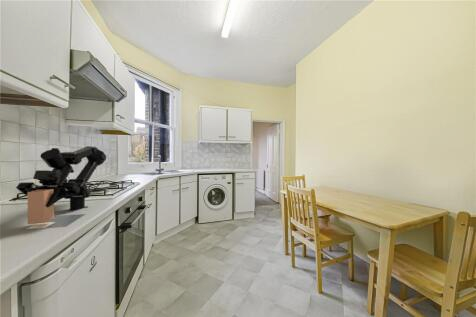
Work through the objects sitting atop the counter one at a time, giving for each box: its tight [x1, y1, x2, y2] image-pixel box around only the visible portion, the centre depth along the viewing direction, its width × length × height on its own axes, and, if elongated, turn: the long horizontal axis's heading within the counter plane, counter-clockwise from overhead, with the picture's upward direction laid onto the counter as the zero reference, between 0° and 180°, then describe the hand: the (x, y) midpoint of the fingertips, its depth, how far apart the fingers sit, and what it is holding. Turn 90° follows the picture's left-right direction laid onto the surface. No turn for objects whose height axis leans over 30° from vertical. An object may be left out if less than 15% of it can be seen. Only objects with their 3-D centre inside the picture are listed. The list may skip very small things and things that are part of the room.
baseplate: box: [24, 213, 86, 231], centre depth 75 cm, size 15×12×1 cm
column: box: [26, 189, 55, 225], centre depth 70 cm, size 5×5×12 cm
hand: (38, 207), depth 69 cm, fingers closed on column, 5 cm apart
